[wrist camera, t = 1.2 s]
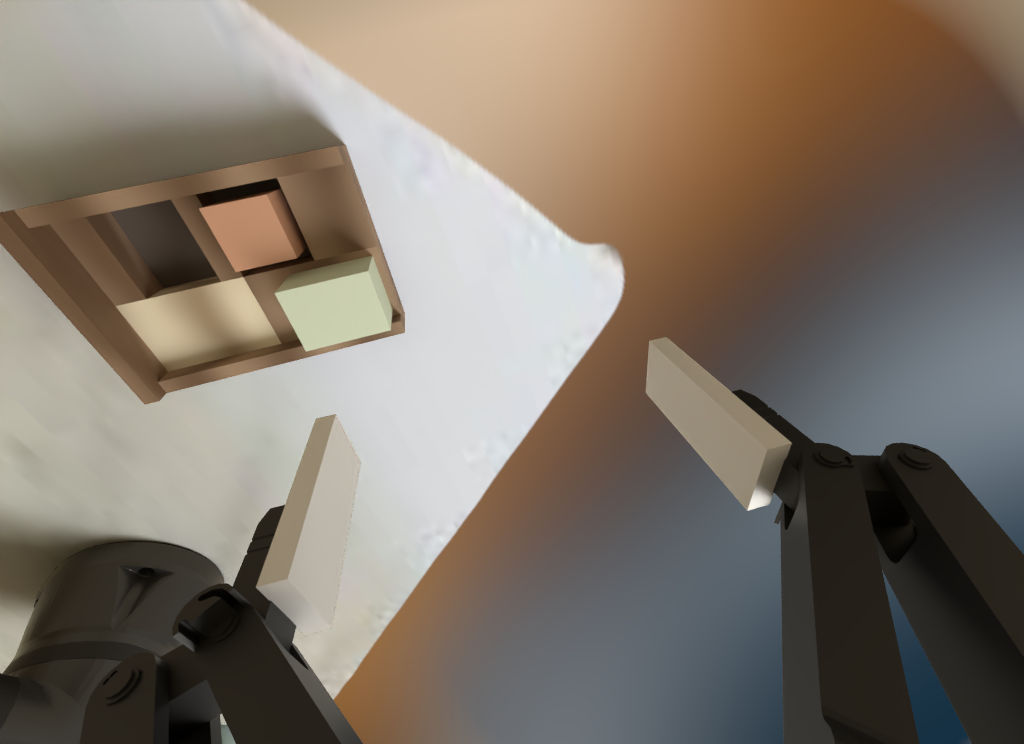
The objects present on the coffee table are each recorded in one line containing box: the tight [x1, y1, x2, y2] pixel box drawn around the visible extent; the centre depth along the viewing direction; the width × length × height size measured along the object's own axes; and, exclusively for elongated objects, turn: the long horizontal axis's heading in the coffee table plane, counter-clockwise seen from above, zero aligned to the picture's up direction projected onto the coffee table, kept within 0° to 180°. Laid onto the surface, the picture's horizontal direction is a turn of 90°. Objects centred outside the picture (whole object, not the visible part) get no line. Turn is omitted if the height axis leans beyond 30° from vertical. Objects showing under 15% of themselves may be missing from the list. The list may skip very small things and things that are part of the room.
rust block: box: [199, 188, 308, 272], centre depth 26 cm, size 4×4×4 cm
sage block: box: [275, 256, 392, 351], centre depth 28 cm, size 6×4×4 cm
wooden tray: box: [0, 145, 405, 404], centre depth 27 cm, size 19×13×5 cm
